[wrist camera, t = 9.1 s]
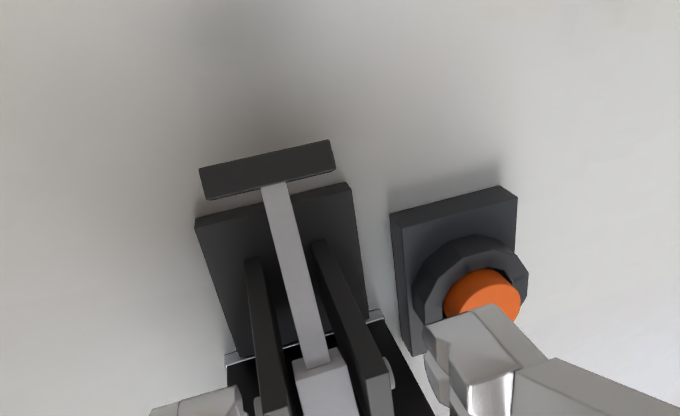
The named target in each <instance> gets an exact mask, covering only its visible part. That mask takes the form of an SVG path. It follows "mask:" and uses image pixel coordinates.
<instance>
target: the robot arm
mask: <svg viewBox="0 0 680 416" xmlns="http://www.w3.org/2000/svg"><path fill="white" fill-rule="evenodd" d="M422 339H423V341H424V343H425V345H426V346H427V348H428V350H427V351H426V353H425V354H424V364H425V370H426V374H427V377H428V381H429V383H430V385H431V388H432V390H433V392H434V394H435V396H436V398H437V399H438V401H439V403H441V404H443V405H445V406H446V407H448V408H450V416H680V408H679V407H676V406H674V405H672V404H669V403H667V402H664V401H662V400H659V399H657V398H654V397H652V396H649V395H647V394H644V393H642V392H639V391H637V390H635V389H632V388H630V387H627V386H625V385H622V384H620V383H617V382H615V381H612V380H610V379H607V378H605V377H603V376H600V375H598V374H595V373H593V372H590V371H588V370H585V369H583V368H580V367H578V366H575V365H573V364H570V363H568V362H566V361H563V360H561V359H558V358H553V359H549V360H548V358H547V357H546V356H545V355H544V354H543V353H542V352H541V351H540V350H539V349H538V348H537V347H536V346H535V345H534V344H533V343H532V342H531V341H530V340H529V338H528V337H527V336H526V335H525V334H524V333H523V332H522V331H521V330H520V329H519V328H518V327H517V326H516V325H515V324H514V323H513V322H512V321H511V319H510V318H509V317H508V316H507V315H506V314H505V313H504V312H503V311H502V310H501V309H500V308H499V307H498V306H497V305H495V304H493V303H491V304H487V305H484V306H481V307H478V308H475V309H472V310H469V311H465V312H462V313H459V314H456V315H453V316H450V317H447V318H444V319H441V320H438V321H435V322H432V323H429V324H425V325H423V329H422ZM149 416H249V415H248V413H246V412H244V411H243V401H242V396H241V393H240V391H239V388H238V386H237V385H233V386H229V387H226V388H222V389H219V390H215V391H212V392H208V393H205V394H201V395H198V396H194V397H191V398H187V399H184V400H181V401H179V402H175V403H172V404H168V405H165V406H161V407H158V408H154V409H152V410H151V412H150V414H149Z"/></svg>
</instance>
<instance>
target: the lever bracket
mask: <svg viewBox="0 0 680 416" xmlns="http://www.w3.org/2000/svg"><path fill="white" fill-rule="evenodd" d="M290 200H291V204H292V208H293V212H294V216H295V220H296V224H297V228H298V232H299V236H300V240H301V244H302V248H303V252H304V255H305V259H306V263H307V267H308V271H309V275H310V279H311V283H312V287H313V291H314V295H315V299H316V303H317V307H318V311H319V315H320V319H321V323H322V327H323V331H324V332H328V331H331V330H333V332H334V335H335V338H336V340H337V343H338V346H339V349H340V351H341V354H342V357H343V359H344V361H345V363H346V365H347V368H348V372H349V376H350V379H351V381H352V384H353V387H354V390H355V392H356V395H357V398H358V401H359V403H360V406H361V409H362V411H363V414H364V416H395V415H394V407H393V399H392V391H391V390H392V389H394V388H395V380H394V376H393V373H392V370H391V367H390V365H389V362H388V360H387V359H386V358H385V357H382V356H381V354H380V352H379V349H378V347H377V345H376V343H375V341H374V339H373V337H372V335H371V333H370V331H369V328H368V326H367V324H366V322H365V320H367V319H369V318H370V317H369V310H368V303H367V296H366V289H365V282H364V275H363V268H362V260H361V253H360V246H359V239H358V232H357V225H356V218H355V211H354V204H353V197H352V190H351V188H350V187H349V186H348V184H347V183H346V182H344V183H339V184H335V185H331V186H327V187H323V188H319V189H315V190H311V191H307V192H302V193H298V194H294V195H290ZM194 229H195V232H196V235H197V238H198V240H199V243H200V246H201V249H202V252H203V255H204V258H205V260H206V263H207V266H208V269H209V272H210V275H211V278H212V280H213V283H214V286H215V289H216V292H217V295H218V298H219V300H220V303H221V306H222V309H223V312H224V315H225V318H226V321H227V323H228V326H229V329H230V332H231V335H232V338H233V341H234V343H235V346H236V349H237V352H238V355H239V357H240V358H242V357H245V356H248V355H252V354H255V359H256V367H257V375H258V384H259V392H260V396H259V397H256V398H254V409H255V415H256V416H297V414H296V409H295V404H294V399H293V395H292V390H291V385H290V380H289V375H288V370H287V365H286V361H285V356H284V351H283V346H282V345H285V344H288V343H291V342H295V341H298V340H299V339H298V335H297V331H296V328H295V324H294V320H293V316H292V312H291V308H290V304H289V300H288V296H287V292H286V288H285V284H284V280H283V276H282V272H281V268H280V264H279V260H278V257H277V253H276V249H275V245H274V241H273V237H272V233H271V229H270V225H269V221H268V217H267V213H266V209H265V205H264V202H261V203H257V204H253V205H249V206H245V207H241V208H237V209H233V210H229V211H224V212H220V213H216V214H212V215H208V216H204V217H200V218H196V219H195V227H194Z"/></svg>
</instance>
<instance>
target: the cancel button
mask: <svg viewBox="0 0 680 416" xmlns="http://www.w3.org/2000/svg"><path fill="white" fill-rule="evenodd" d="M491 303H493V304H495V305H497V306H498V307H499V308H500V309H501V310H502V311H503V312H504V313H505V314H506V315H507V316H508V317H509V318H510V319H511V321H512V322H514V320H515V319H516V317H517V315H518V313H519V310H520V305H521V299H520V295H519V293H518V291H517V290H516V289H515V288H514V287H513V286H512V285H511V284H510V283H509V282H508V281H507V280H506V279H505V278H504V277H503V276H502V275H501V274H500V273H498V272H497V271H495V270H492V269H478V270H474V271H471V272H468V273H466V274H465V275H464V276H463V277H461V278H460V279H459V280H458V281H456V282H455V283H454V284H453V285H452V286H451V287H450V289H449V291H448V293H447V294H446V297H445V300H444V312H445V314H446V316H447V317H450V316H453V315H456V314H459V313H462V312H465V311H469V310H472V309H475V308H478V307H481V306H484V305H487V304H491Z"/></svg>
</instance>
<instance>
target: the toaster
mask: <svg viewBox="0 0 680 416" xmlns="http://www.w3.org/2000/svg"><path fill="white" fill-rule="evenodd" d="M369 317H370V318H369V319H367V320H365V322H366V324H367V326H368V328H369V331H370V333H371V335H372V337H373V339H374V341H375V343H376V345H377V347H378V349H379V352H380V354H381V356H382V357H385V358H386V359H387V360H388V362H389V365H390V367H391V370H392V373H393V376H394V380H395V388H394V389H392V390H391V391H392V399H393V407H394V415H395V416H435V415H434V413H433V411H432V409H431V407H430V405H429V403H428V401H427V400H426V398H425V396H424V394H423V392H422V390H421V388H420V387H419V385H418V383H417V381H416V379H415V377H414V375H413V373H412V372H411V370H410V368H409V366H408V364H407V362H406V360H405V359H404V357H403V355H402V353H401V351H400V349H399V347H398V346H397V344H396V342H395V340H394V338H393V336H392V334H391V332H390V331H389V329H388V327H387V325H386V323H385V318H384V316H383V314H382V312H381V310H380V309H377V310H374V311H371V312H369ZM324 335H325V339H326V343H327V347H328V350H329V349H332V348H335V347H337V348H338V350H339V351H340V349H339V346H338V343H337V340H336V338H335V335H334V332H333V330H331V331H328V332H324ZM282 346H283V351H284V356H285V361H286V365H287V370H288V375H289V380H290V385H291V390H292V395H293V399H294V404H295V409H296V414H297V416H304V415H303V411H302V407H301V403H300V399H299V395H298V391H297V387H296V383H295V378H294V372H293V367H292V361H293V360H297V359H300V358H303V355H302V351H301V347H300V343H299V340H298V341H295V342H291V343H288V344H285V345H282ZM340 353H341V351H340ZM341 355H342V354H341ZM224 362H225V368H226V371H227V387H229V386H233V385H237V386H238V388H239V391H240V393H241V396H242V401H243V411H244V412H246V413H248V415H249V416H256V415H255V409H254V398H256V397H259V396H260V392H259V384H258V375H257V367H256V359H255V354H252V355H248V356H245V357H242V358H240V357H239V355H238V352H234V353H230V354H227V355H225V356H224ZM350 380H351V379H350ZM351 384H352V381H351ZM352 388H353V392H354V396H355V400H356V404H357V408H358V412H359V416H364V414H363V411H362V409H361V406H360V403H359V401H358V398H357V395H356V392H355V390H354V387H353V384H352Z"/></svg>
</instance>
